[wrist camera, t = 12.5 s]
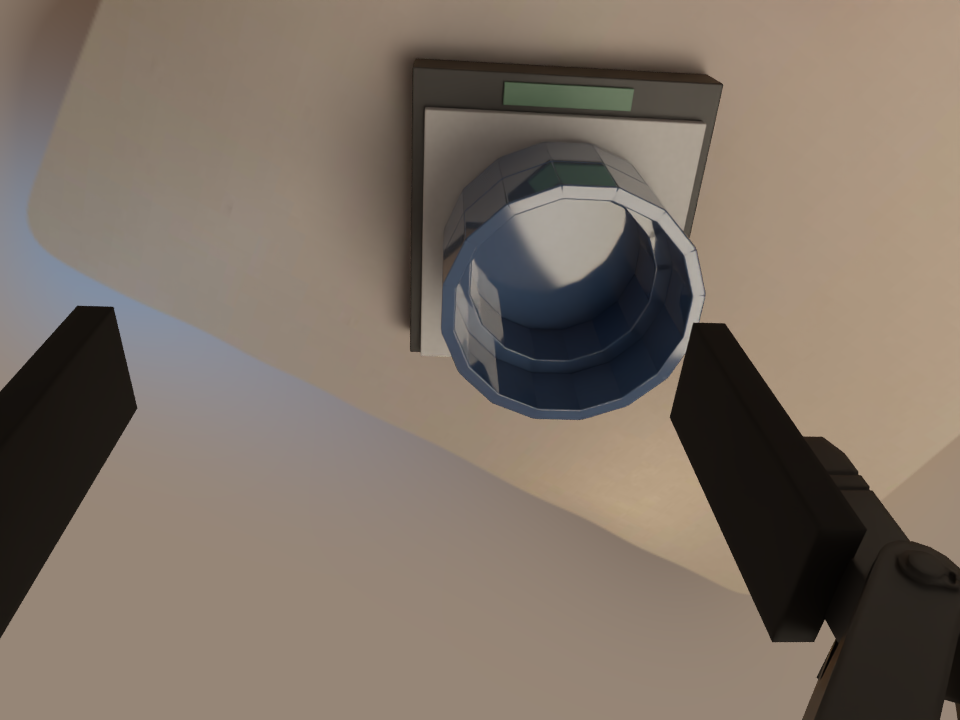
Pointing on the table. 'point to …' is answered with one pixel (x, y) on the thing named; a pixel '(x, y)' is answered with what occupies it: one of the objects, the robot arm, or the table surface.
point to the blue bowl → (566, 283)
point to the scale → (534, 119)
